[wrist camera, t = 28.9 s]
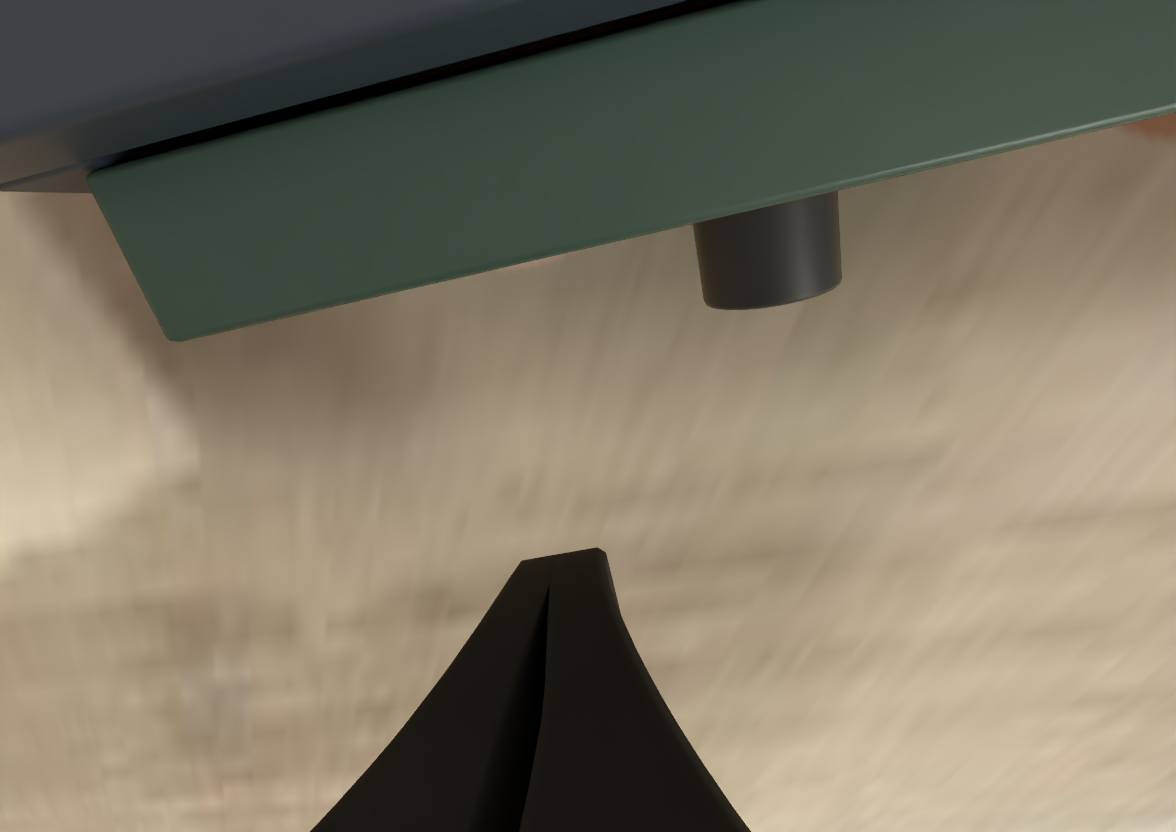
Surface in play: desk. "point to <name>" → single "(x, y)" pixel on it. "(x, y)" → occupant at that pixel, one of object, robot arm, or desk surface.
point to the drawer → (627, 150)
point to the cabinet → (231, 67)
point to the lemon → (637, 17)
